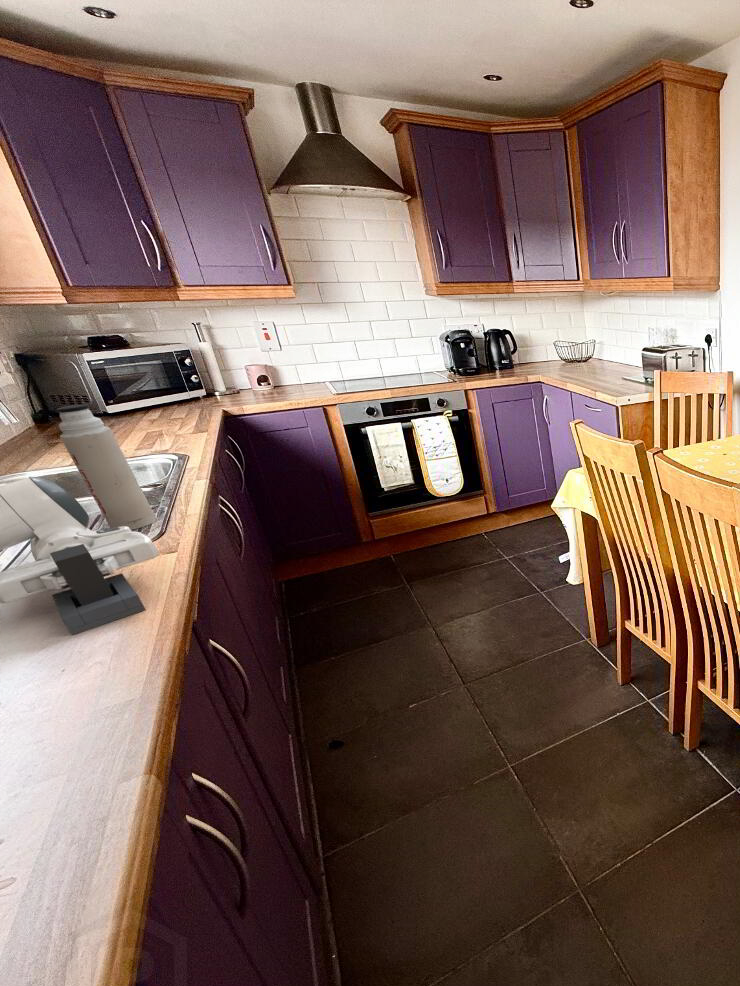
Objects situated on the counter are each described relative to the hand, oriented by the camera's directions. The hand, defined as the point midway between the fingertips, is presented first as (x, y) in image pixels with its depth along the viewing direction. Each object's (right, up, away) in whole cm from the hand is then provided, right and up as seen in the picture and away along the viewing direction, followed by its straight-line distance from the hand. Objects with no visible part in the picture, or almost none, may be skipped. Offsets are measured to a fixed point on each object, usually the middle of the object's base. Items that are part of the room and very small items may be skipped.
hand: (84, 577), depth 97 cm
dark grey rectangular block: (0, -5, +3) cm, 6 cm away
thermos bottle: (-32, +10, +40) cm, 52 cm away
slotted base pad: (0, -6, +3) cm, 7 cm away
